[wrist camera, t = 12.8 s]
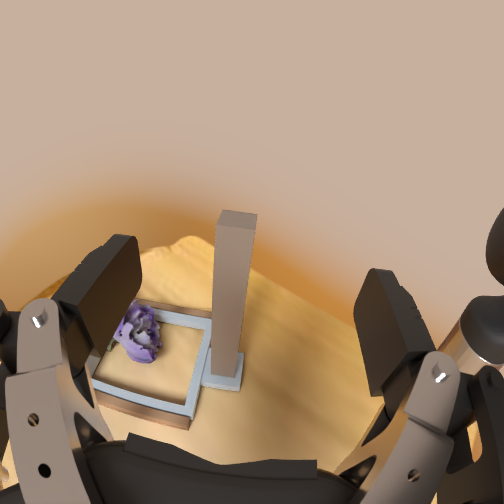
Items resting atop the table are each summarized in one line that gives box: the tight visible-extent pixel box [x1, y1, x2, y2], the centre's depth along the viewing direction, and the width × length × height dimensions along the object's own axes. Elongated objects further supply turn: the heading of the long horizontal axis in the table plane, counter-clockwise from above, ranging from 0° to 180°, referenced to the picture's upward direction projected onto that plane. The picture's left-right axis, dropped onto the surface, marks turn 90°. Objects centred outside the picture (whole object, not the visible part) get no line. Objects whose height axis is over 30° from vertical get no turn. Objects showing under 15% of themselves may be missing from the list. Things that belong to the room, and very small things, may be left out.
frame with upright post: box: [86, 210, 257, 420], centre depth 30 cm, size 22×17×23 cm
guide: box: [94, 298, 212, 430], centre depth 35 cm, size 28×20×2 cm
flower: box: [107, 299, 162, 363], centre depth 34 cm, size 9×9×10 cm
